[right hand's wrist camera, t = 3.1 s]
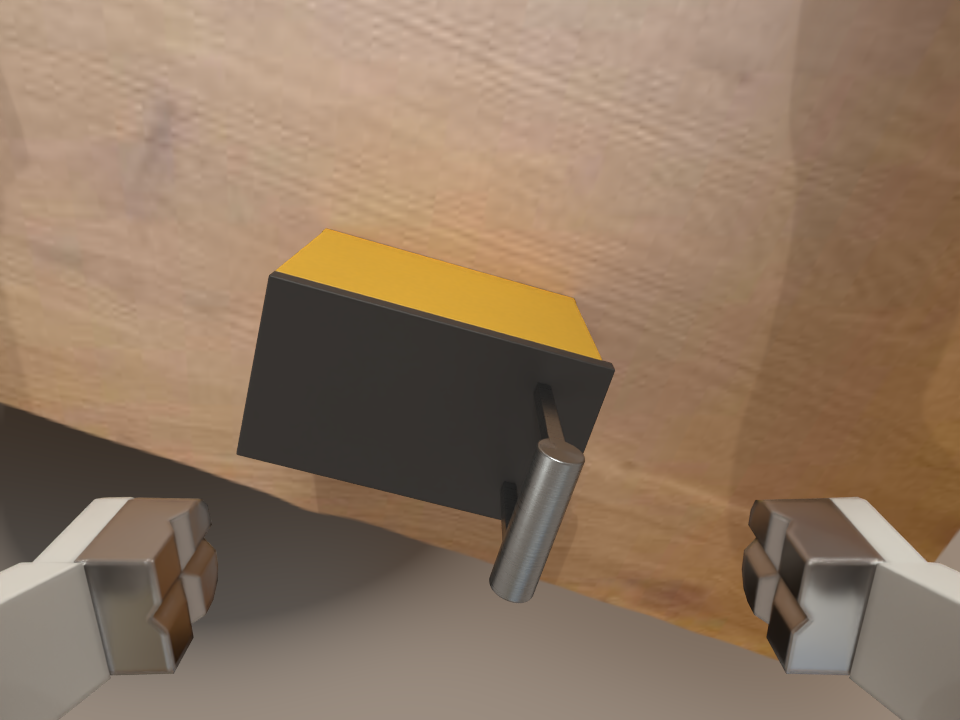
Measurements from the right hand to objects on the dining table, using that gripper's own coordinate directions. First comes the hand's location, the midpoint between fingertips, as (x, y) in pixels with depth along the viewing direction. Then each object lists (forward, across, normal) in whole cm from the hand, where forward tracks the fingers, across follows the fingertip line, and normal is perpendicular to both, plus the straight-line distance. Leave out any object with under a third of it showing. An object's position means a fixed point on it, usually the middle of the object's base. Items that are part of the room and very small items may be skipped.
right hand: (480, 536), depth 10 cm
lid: (+22, -3, -8) cm, 23 cm away
